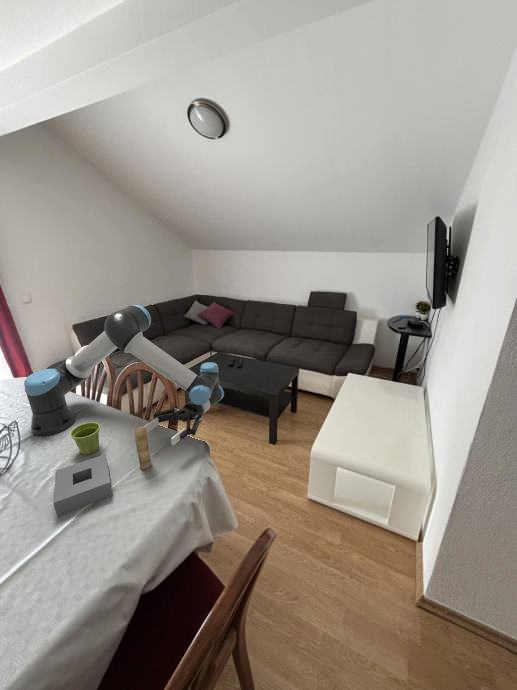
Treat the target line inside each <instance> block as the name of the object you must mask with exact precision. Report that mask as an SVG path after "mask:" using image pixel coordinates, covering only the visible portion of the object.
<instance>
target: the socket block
mask: <svg viewBox="0 0 517 690" xmlns="http://www.w3.org/2000/svg"><path fill="white" fill-rule="evenodd" d="M107 458H108V457H107V454H102V455H100V456H99V455H98V456H96V457H93V458H90V459H87V460H83V461H80V462H78V463H74V464H71V465H68V466H65V467H61V468H58V469H55V476H54V490H53V491H54V492H53V506H54V509H55V513H56V516H57V517H59V516H62V515H64V514H65V515H66V514H67V513H70V512H73V511H75V510H78V509H80V508H83V507H85V506H88V505H90V504H93V503H96V502H99V501H101V500H103V499H106V498H108V497H111V496H113V493H114V492H113V488H112V481H111V477H110V476H111V474H110V470H109V463H108V459H107Z"/></svg>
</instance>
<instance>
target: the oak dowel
mask: <svg viewBox="0 0 517 690" xmlns="http://www.w3.org/2000/svg"><path fill="white" fill-rule="evenodd" d="M133 432H134V438H135V444H136V451H137V457H138V463H139V464H138V465H139V469H140V470H141V471H148V470H150V469H151V468H152V460H151V455H150V453H151V452H150V445H149V441H148V434H147V433H148V432H146V428H145V427H143V426H139V427H136V428H135V429H134V430H133Z"/></svg>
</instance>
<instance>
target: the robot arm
mask: <svg viewBox="0 0 517 690" xmlns="http://www.w3.org/2000/svg"><path fill="white" fill-rule="evenodd" d="M151 324H152V316H151V315H150V312H149V311H148V309H147V308H145V307H144V306H141V305H138V304H133V305H128V306H126V307H124V308H122V309H119V310H117V311H114V312H112V313H111V314H109V315H108V316H107V318H106V319H105V321H104V325H103V326H104V330H103V331H102V332H101V333H100V334H99V335H98V336H97V337H96V338H95V339H93V340H92V341H91V342H90V343H88V345H87V346H86V347H84V348H83V349H82V350H81V351H80V352H78V354H76V355H71V356H69V357H67V358H66V359H65V360H63V362H62V363H61V364H59V365H58V366H56V367H55V368H45V369H41V370H39V371H38V370H37V371H35V372H33V373H31V374H30V375H28V376H27V377H26V379H25V380H24V383H23V385H24V392H25V394H26V397H27V401H28V404H29V407H30V410H31V413H32V416H31V424H30V430H31V432H32V434H33V435H35V436H38V437H45V436H52V435H55V434H59V433H61V432H63V431H65V430H68V429H70V427H72V425H74V424H75V422H76V416H75V413H74V411H72V410H71V407H69V405H68V403H67V401H66V395H67V394H68V393H70V392H71V391H72V390H75V388H77V387H78V386H80V385H81V384H83V383H85V382H87V380H88V379H89V377H90V376H91V375H92V373H93V369H94V368H96V367H97V366H98V365H99V364H100V363H101V362H103V361H104V360H105V359H106V358H107V357H109V356H110V355H111V354H112V353H113V352H115V351H116V350H117V349H119V350H120V351H122V352H123V353H125V354H126V353H128V354H129V353H130V354H131V355H133V356H134V357H136V358H137V359H138V360H140V361H141V362H142V363H145V365H147V366H149V367H150V368H151V369H153V370H155V371H156V372H157V373H159V374H160V375H161V376H163V377H164V378H165V379H167V380H169V381H170V382H172V383H173V384H174V385H176V386H177V387H180V389H182V390H184V391H185V392H186V393H187V394H188V398H189V401H188V402H187V403H184V406H183V407H182V408H179V407H178V406H177V405H176V406H173V407H171V408H168V409H166V410H163V411H159V412H155V413H153V415H152V416H153V419H151V420H149V421H148V423H146V424H145V425H143V426H142V427H145V428H146V432H147V433H148V432H150V431H151V430H152V429H154V428H155V427H158V425H159V424H160V423H165V422H169V421H173V420H174V421H182V422H183V423H185V422H186V426H185V427H186V428H185V427H183V428H182V429H181V430H180V431H178V432H177V433H176V434H174V435H173V436H171V438H170V440H171V441H170V442H171V445H172V446H175V445H176V443H178V442H179V441H181V440H184V439H185V438H186V437H188V436H190V435H191V436H192V437H194V436H196V434H197V431H198V428H199V426H200V424H201V422H203V414H205V413H206V412H207V411H209V410H210V409H211V408H212V407H214V406H215V405H216V404H218V403H220V401H221V400H222V399H223V398H224V396H225V391H224V390H223V389H224V388H223V387H222V386H221V385H220V377H219V372H220V371H219V365H218V364H217V363H215V362H213V361H212V362H203V363H202V364H201V365H200V371H199V372H200V375H198V374H196V373H195V372H194V371H192V370H191V369H189V368H188V367H186V365H183V364H182V363H181V362H179V361H178V360H177V359H175V358H174V357H173V356H171V355H170V354H168V352H165V351H164V350H163V349H161V348H160V347H159V346H158V345H156V344H155V343H153V342H151V341H150V340H149V339H148V338H146V337H145V336H144V335H143V332H145V331H147V330H148V329H149V328H150V327H151ZM193 420H194V422H193V425H192V427H191V423H192V422H191V421H193Z"/></svg>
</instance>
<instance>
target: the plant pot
mask: <svg viewBox="0 0 517 690" xmlns="http://www.w3.org/2000/svg"><path fill="white" fill-rule="evenodd" d="M100 429H101V425H100V423H98V422H94V421H91V422H85V423H82V424H79V425H77V426H76V427H74V428H73V429H72V430H70V432H69V435H70V438H71V439H72V440H74V442H75V444H76V446H77V448H78V450H79V452H80V453H81V455H89V454H93V453H95V452H96V451H98V450H99V448H100V434H99V432H100Z"/></svg>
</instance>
